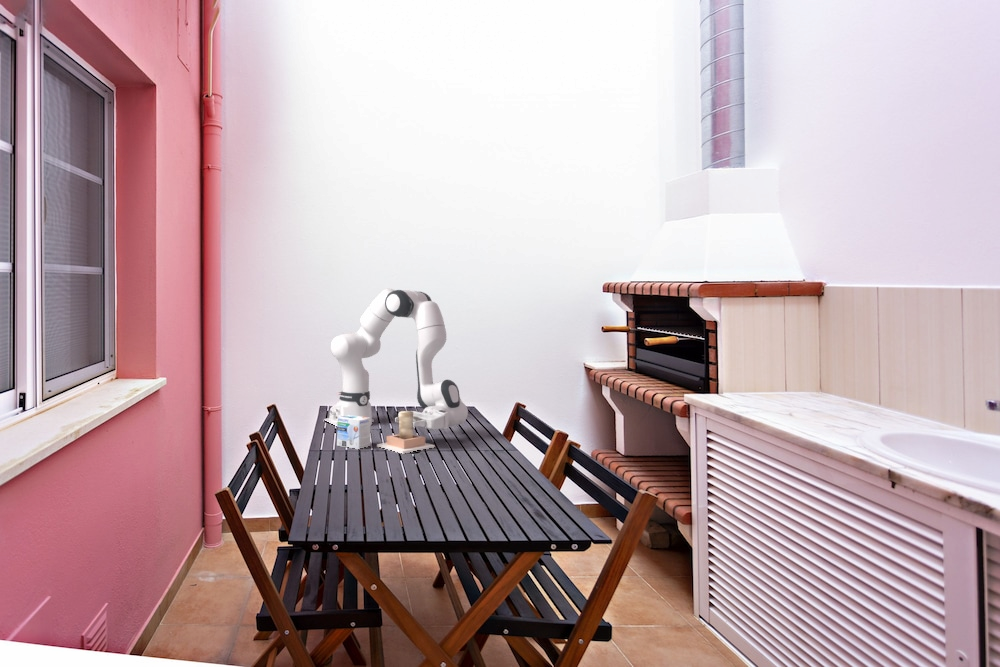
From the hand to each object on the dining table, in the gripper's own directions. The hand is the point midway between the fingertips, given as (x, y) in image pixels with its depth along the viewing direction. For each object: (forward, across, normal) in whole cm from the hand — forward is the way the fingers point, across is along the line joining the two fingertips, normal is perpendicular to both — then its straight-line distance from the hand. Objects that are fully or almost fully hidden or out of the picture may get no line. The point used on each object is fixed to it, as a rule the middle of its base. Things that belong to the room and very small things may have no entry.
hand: (404, 422), depth 260 cm
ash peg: (-1, 0, +8) cm, 9 cm away
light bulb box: (+12, -14, +10) cm, 21 cm away
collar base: (-1, 0, +10) cm, 10 cm away
